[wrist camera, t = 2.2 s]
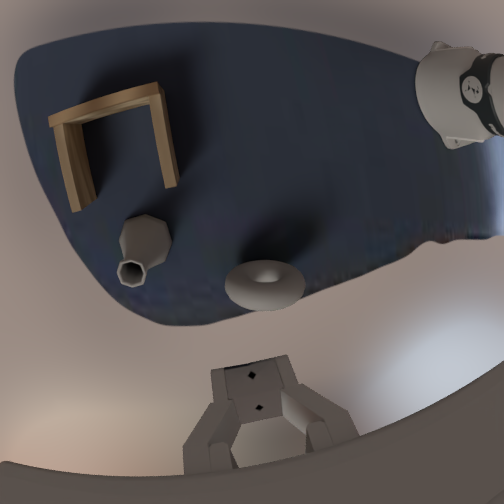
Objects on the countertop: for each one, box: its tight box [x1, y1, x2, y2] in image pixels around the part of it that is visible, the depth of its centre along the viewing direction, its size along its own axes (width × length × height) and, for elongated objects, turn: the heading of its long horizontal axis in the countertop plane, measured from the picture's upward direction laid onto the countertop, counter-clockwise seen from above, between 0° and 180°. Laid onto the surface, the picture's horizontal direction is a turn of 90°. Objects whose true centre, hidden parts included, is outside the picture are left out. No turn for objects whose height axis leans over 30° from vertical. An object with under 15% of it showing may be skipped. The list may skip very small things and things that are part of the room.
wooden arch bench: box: [48, 82, 180, 213], centre depth 30 cm, size 12×11×7 cm
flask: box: [117, 214, 172, 287], centre depth 34 cm, size 7×7×10 cm
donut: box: [225, 260, 305, 311], centre depth 38 cm, size 10×4×10 cm, turn 90°
